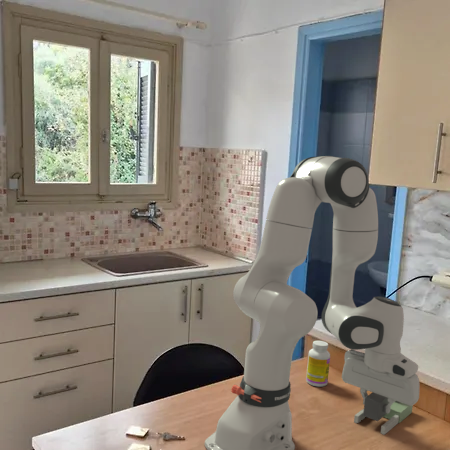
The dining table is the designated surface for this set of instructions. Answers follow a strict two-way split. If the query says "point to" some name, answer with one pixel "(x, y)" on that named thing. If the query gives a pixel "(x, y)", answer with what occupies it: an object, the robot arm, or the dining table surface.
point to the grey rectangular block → (374, 406)
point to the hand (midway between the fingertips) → (376, 408)
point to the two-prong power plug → (390, 416)
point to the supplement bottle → (318, 364)
